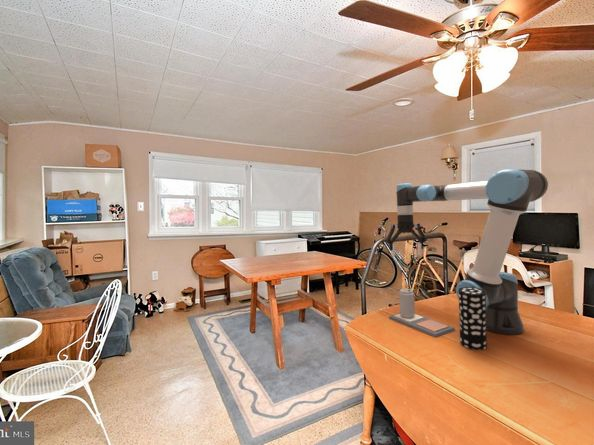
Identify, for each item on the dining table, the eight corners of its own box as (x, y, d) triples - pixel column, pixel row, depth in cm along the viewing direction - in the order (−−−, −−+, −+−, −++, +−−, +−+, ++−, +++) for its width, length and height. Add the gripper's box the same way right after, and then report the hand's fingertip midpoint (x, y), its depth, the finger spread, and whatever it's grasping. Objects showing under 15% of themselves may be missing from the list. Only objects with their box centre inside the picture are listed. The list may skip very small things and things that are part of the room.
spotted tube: (478, 352, 99) (476, 296, 97) (455, 342, 106) (453, 290, 104) (491, 345, 102) (490, 291, 101) (468, 336, 110) (467, 285, 108)
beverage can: (415, 319, 126) (414, 292, 126) (400, 318, 128) (399, 291, 127) (414, 314, 132) (413, 288, 132) (399, 313, 134) (398, 288, 134)
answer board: (454, 330, 117) (454, 326, 117) (435, 337, 111) (435, 333, 111) (407, 313, 138) (407, 310, 138) (389, 318, 132) (389, 315, 132)
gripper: (426, 213, 148) (427, 254, 148) (378, 215, 147) (379, 256, 148) (433, 213, 140) (434, 256, 141) (382, 215, 140) (384, 258, 140)
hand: (406, 256), depth 144 cm, fingers open, 13 cm apart
